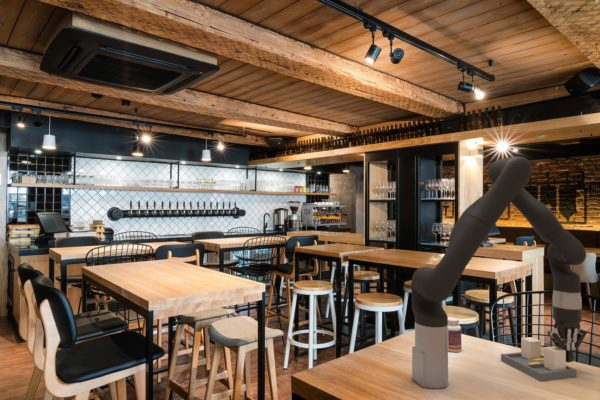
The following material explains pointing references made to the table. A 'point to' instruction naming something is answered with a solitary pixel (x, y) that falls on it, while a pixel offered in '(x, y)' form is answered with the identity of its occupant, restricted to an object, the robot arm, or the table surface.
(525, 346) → the tab left
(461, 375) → the table surface
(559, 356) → the tab right
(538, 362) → the switch board
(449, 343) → the pill bottle
